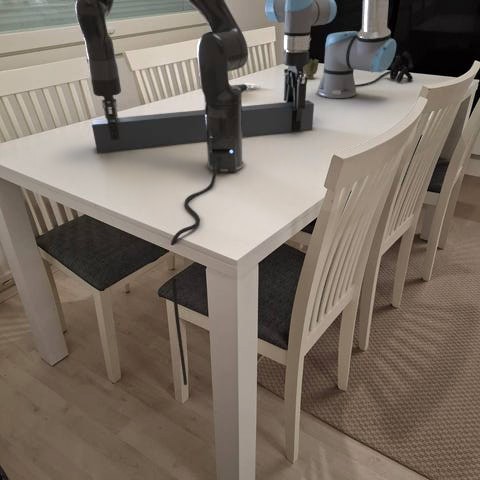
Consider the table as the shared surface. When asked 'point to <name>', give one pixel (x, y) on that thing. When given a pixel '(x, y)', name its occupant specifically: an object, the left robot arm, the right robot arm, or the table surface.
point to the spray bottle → (247, 86)
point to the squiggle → (401, 67)
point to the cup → (311, 68)
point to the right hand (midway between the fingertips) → (292, 127)
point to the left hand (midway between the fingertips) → (115, 136)
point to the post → (194, 126)
